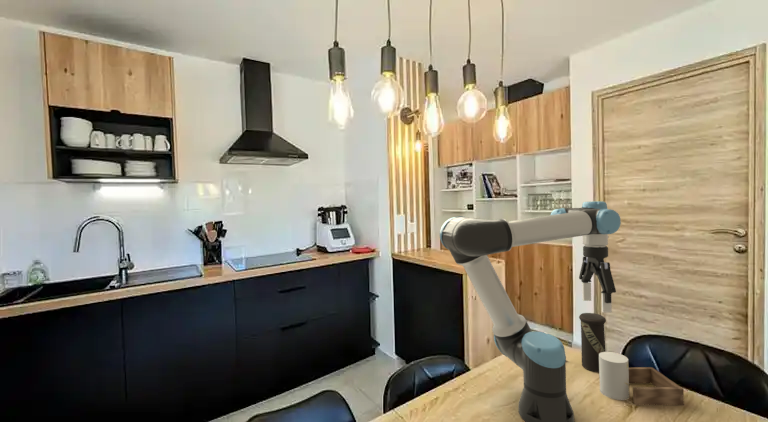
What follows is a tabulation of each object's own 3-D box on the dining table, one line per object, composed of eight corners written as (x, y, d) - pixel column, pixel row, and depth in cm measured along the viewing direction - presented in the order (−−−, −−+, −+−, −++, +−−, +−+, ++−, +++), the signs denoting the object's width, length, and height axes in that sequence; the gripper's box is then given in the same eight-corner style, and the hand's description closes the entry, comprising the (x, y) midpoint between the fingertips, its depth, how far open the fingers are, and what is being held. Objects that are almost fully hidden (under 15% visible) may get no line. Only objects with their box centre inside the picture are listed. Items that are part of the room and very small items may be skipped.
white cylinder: (634, 400, 111) (633, 363, 111) (605, 399, 113) (604, 362, 113) (622, 387, 119) (621, 352, 119) (595, 385, 121) (594, 351, 121)
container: (583, 371, 131) (582, 318, 130) (578, 360, 140) (576, 310, 139) (610, 373, 128) (609, 319, 128) (603, 362, 137) (601, 311, 136)
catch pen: (635, 405, 109) (635, 389, 109) (610, 381, 123) (609, 367, 123) (683, 405, 108) (683, 389, 108) (652, 381, 122) (652, 367, 122)
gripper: (628, 250, 110) (629, 317, 111) (589, 241, 135) (590, 296, 136) (602, 250, 111) (603, 317, 112) (568, 241, 136) (569, 296, 136)
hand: (596, 306), depth 124 cm, fingers open, 13 cm apart
